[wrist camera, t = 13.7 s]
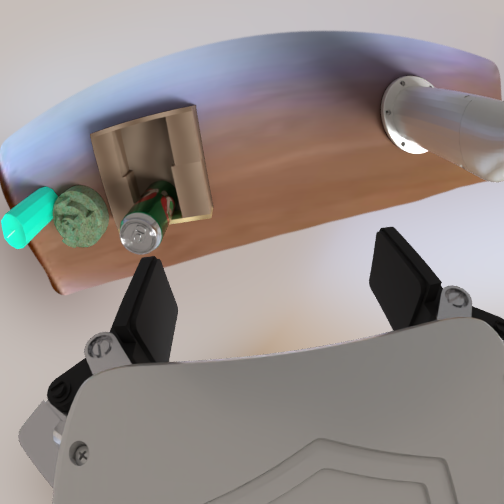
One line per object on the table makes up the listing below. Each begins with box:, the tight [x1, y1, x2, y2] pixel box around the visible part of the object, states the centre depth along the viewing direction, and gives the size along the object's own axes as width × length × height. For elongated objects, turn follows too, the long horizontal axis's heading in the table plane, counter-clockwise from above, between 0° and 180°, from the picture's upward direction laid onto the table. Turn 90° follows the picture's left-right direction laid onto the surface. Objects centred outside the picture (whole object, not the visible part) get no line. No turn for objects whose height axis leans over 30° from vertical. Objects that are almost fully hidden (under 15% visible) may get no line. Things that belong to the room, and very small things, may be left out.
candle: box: [1, 187, 58, 249], centre depth 32 cm, size 6×6×12 cm
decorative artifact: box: [53, 185, 109, 248], centre depth 36 cm, size 10×7×10 cm
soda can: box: [120, 181, 179, 255], centre depth 32 cm, size 5×5×12 cm
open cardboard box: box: [90, 105, 213, 233], centre depth 34 cm, size 14×15×4 cm
